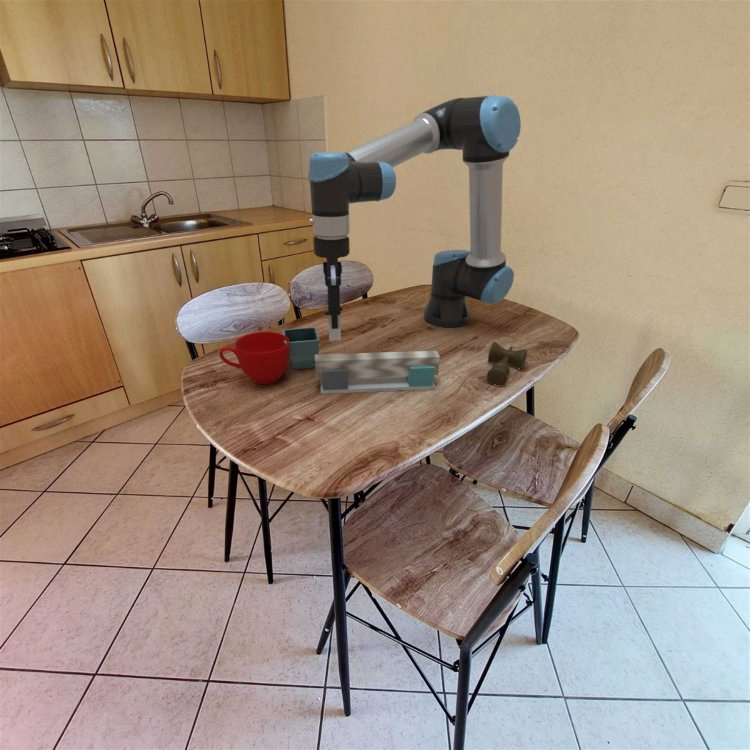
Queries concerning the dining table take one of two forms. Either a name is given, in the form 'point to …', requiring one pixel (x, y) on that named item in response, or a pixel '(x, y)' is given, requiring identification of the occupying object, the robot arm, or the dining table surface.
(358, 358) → the grey white bar
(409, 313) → the dining table surface
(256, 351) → the ceramic cup
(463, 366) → the dining table surface
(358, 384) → the long grey teal holder
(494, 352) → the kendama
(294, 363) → the flower pot
